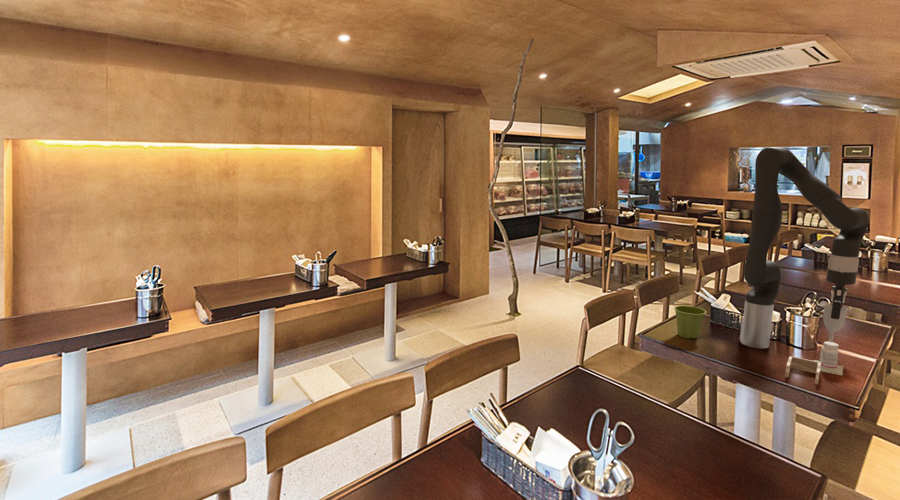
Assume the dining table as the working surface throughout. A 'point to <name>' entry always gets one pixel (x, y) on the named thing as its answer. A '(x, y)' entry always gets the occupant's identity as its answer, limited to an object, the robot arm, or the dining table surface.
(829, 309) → the chalice
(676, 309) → the plant pot
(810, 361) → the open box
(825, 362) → the pill bottle
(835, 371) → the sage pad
